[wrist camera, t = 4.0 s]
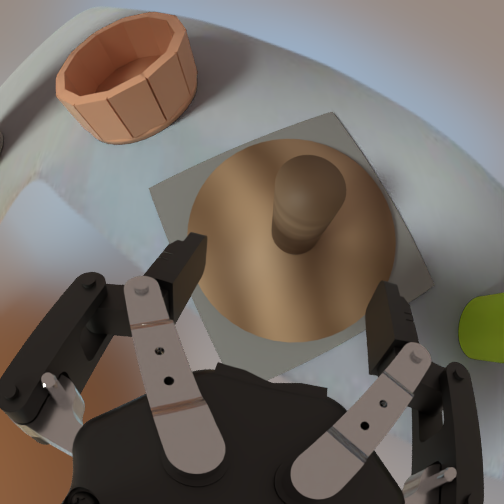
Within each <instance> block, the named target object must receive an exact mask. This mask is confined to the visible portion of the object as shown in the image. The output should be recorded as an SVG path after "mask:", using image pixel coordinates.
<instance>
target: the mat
mask: <svg viewBox="0 0 504 504" xmlns="http://www.w3.org/2000/svg"><path fill="white" fill-rule="evenodd" d="M277 139H301V140H308V141H313V142H317V143H320V144H324V145H326V146H329V147H331V148H334V149H336V150H338V151H339V152H341V153H343V154H345V155H347V156H348V157H349V158H351V159H352V160H354V161H355V162H356V163H358V164H359V165H360V166H361V167H362V168H363V169H364V170H365V171H366V172H367V173H368V174H369V175H370V176H371V177H372V179H373V180H374V181H375V183H376V184H377V185H378V187H379V188H380V190H381V191H382V193H383V195H384V197H385V199H386V201H387V203H388V206H389V209H390V211H391V214H392V219H393V223H394V228H395V238H396V247H395V258H394V264H393V268H392V271H391V274H390V278H389V280H388V282H391V283H395V284H397V286H398V289H399V293H400V296H402V297H404V298H405V299H406V301H407V302H408V303H410V302H411V301H413V300H414V299H416V298H417V297H419V296H420V295H422V294H423V293H424V292H426V291H427V290H429V289H430V288H432V287H433V286H434V283H433V280H432V278H431V276H430V274H429V272H428V269H427V267H426V265H425V263H424V261H423V259H422V257H421V255H420V253H419V251H418V249H417V247H416V245H415V243H414V241H413V239H412V237H411V235H410V233H409V231H408V229H407V227H406V225H405V224H404V222H403V220H402V218H401V216H400V215H399V213H398V211H397V209H396V207H395V206H394V204H393V202H392V200H391V199H390V197H389V195H388V194H387V192H386V190H385V189H384V187H383V185H382V184H381V182H380V180H379V179H378V177H377V176H376V174H375V172H374V171H373V169H372V168H371V166H370V165H369V163H368V162H367V160H366V159H365V157H364V156H363V154H362V153H361V151H360V150H359V148H358V147H357V145H356V144H355V142H354V141H353V139H352V138H351V137H350V135H349V134H348V132H347V131H346V130H345V128H344V127H343V125H342V124H341V123H340V121H339V120H338V119H337V117H336V116H335V115H334V113H333V112H330V113H326V114H323V115H320V116H317V117H315V118H312V119H309V120H306V121H303V122H300V123H297V124H295V125H292V126H289V127H286V128H284V129H281V130H278V131H276V132H273V133H270V134H268V135H265V136H263V137H260V138H258V139H255V140H253V141H250V142H248V143H245V144H243V145H241V146H238V147H236V148H233V149H231V150H229V151H226V152H224V153H222V154H220V155H217V156H215V157H213V158H211V159H208V160H206V161H204V162H202V163H200V164H197V165H195V166H193V167H191V168H189V169H187V170H185V171H183V172H181V173H178V174H176V175H174V176H172V177H170V178H168V179H166V180H164V181H162V182H160V183H158V184H156V185H154V186H153V187H151V188H149V190H150V193H151V196H152V199H153V201H154V204H155V207H156V210H157V212H158V215H159V218H160V220H161V223H162V226H163V228H164V231H165V233H166V236H167V238H168V241H169V244H171V243H172V242H174V241H176V240H181V241H184V240H185V238H186V237H187V232H188V222H189V217H190V213H191V209H192V206H193V204H194V201H195V198H196V196H197V194H198V192H199V191H200V189H201V187H202V185H203V184H204V183H205V181H206V180H207V178H208V177H209V176H210V175H211V173H212V172H213V171H214V170H215V169H216V168H217V167H218V166H219V165H220V164H222V163H223V162H224V161H225V160H226V159H228V158H229V157H231V156H232V155H234V154H235V153H237V152H239V151H241V150H243V149H245V148H247V147H249V146H252V145H255V144H258V143H261V142H265V141H270V140H277ZM191 296H192V299H193V301H194V303H195V306H196V308H197V310H198V312H199V315H200V317H201V319H202V321H203V323H204V326H205V328H206V330H207V332H208V334H209V336H210V338H211V341H212V343H213V345H214V347H215V349H216V351H217V353H218V355H219V357H220V359H221V361H222V363H223V364H226V365H229V366H233V367H236V368H240V369H244V370H246V371H248V372H250V373H252V374H254V375H256V376H258V377H260V378H262V379H264V380H266V381H267V380H269V379H271V378H274V377H276V376H278V375H280V374H282V373H285V372H287V371H289V370H291V369H293V368H295V367H297V366H299V365H301V364H303V363H305V362H307V361H309V360H311V359H313V358H315V357H317V356H319V355H321V354H323V353H325V352H327V351H329V350H330V349H332V348H334V347H336V346H338V345H340V344H342V343H343V342H345V341H347V340H349V339H351V338H352V337H354V336H356V335H358V334H359V333H361V332H363V331H364V330H366V324H365V315H364V316H363V317H362V318H361V319H359V320H358V321H357V322H356V323H354V324H353V325H351V326H350V327H348V328H346V329H345V330H343V331H341V332H339V333H336V334H334V335H332V336H329V337H326V338H323V339H319V340H314V341H308V342H281V341H273V340H269V339H266V338H262V337H259V336H256V335H254V334H251V333H249V332H247V331H245V330H243V329H241V328H240V327H238V326H236V325H235V324H233V323H232V322H230V321H229V320H228V319H227V318H225V317H224V316H223V315H222V314H220V312H219V311H218V310H217V309H216V308H215V307H214V306H213V305H212V304H211V303H210V301H209V300H208V299H207V297H206V296H205V294H204V293H203V292H202V290H201V288H200V286H199V284H197V286H196V288H195V290H194V291H193V293H192V295H191Z"/></svg>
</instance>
